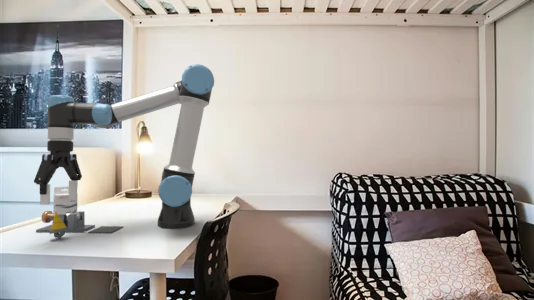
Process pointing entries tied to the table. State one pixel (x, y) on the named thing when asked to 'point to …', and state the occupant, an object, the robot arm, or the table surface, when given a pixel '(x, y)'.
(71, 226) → the grey vise
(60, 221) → the yellow cone
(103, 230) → the seat pad
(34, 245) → the table surface
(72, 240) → the table surface
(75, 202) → the ink box
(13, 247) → the table surface
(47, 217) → the shaft
